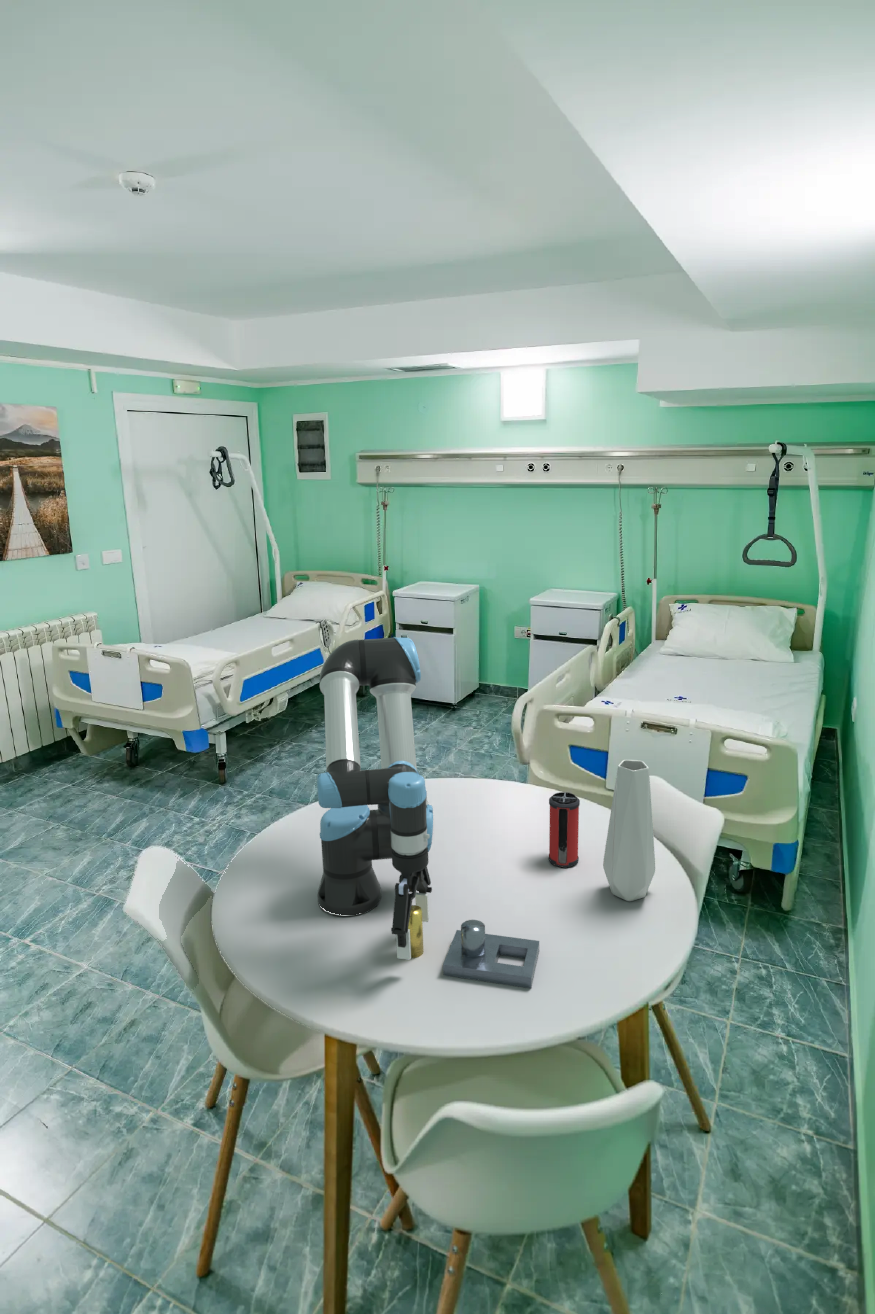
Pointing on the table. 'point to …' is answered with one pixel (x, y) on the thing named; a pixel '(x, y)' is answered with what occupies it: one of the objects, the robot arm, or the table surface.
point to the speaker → (564, 829)
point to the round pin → (416, 931)
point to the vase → (630, 833)
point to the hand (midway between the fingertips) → (413, 938)
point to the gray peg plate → (490, 956)
